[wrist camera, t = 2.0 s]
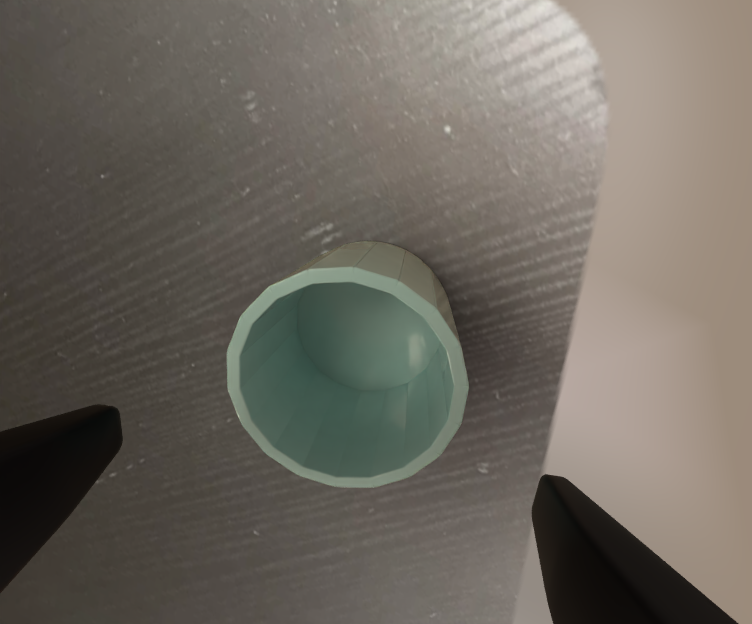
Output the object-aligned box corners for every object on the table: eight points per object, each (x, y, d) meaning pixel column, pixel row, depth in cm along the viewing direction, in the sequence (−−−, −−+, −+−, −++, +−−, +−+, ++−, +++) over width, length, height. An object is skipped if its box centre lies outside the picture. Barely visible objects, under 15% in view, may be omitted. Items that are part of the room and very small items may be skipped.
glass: (463, 250, 15) (489, 283, 9) (436, 402, 17) (445, 506, 11) (295, 230, 15) (223, 251, 10) (290, 380, 18) (228, 470, 12)
